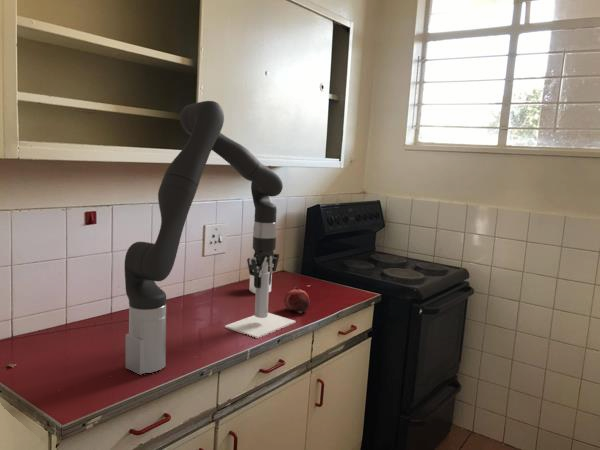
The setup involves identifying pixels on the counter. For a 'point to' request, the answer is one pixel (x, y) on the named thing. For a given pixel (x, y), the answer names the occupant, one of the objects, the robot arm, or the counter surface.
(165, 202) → the robot arm
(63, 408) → the counter surface
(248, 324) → the tile
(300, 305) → the fruit
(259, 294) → the bottle
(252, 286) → the jar
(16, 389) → the counter surface
